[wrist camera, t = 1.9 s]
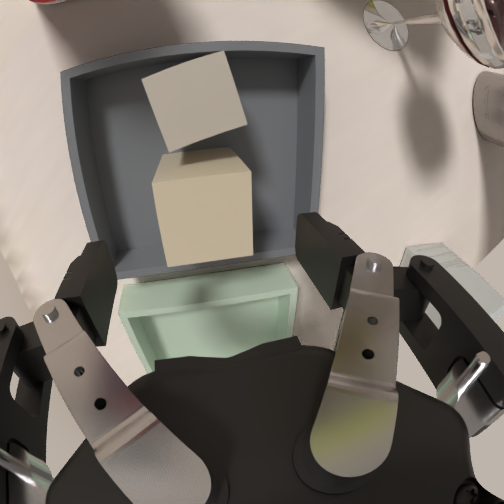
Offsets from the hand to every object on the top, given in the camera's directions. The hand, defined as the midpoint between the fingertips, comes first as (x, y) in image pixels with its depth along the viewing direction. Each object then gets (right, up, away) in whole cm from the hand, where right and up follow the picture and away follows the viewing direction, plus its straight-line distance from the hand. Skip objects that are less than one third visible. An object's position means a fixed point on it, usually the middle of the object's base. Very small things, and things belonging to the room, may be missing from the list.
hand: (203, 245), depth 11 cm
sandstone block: (-2, +5, +7) cm, 9 cm away
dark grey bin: (-2, +7, +7) cm, 10 cm away
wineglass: (+13, +18, +4) cm, 23 cm away
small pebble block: (-2, +9, +4) cm, 10 cm away
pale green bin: (-2, -8, +16) cm, 18 cm away
